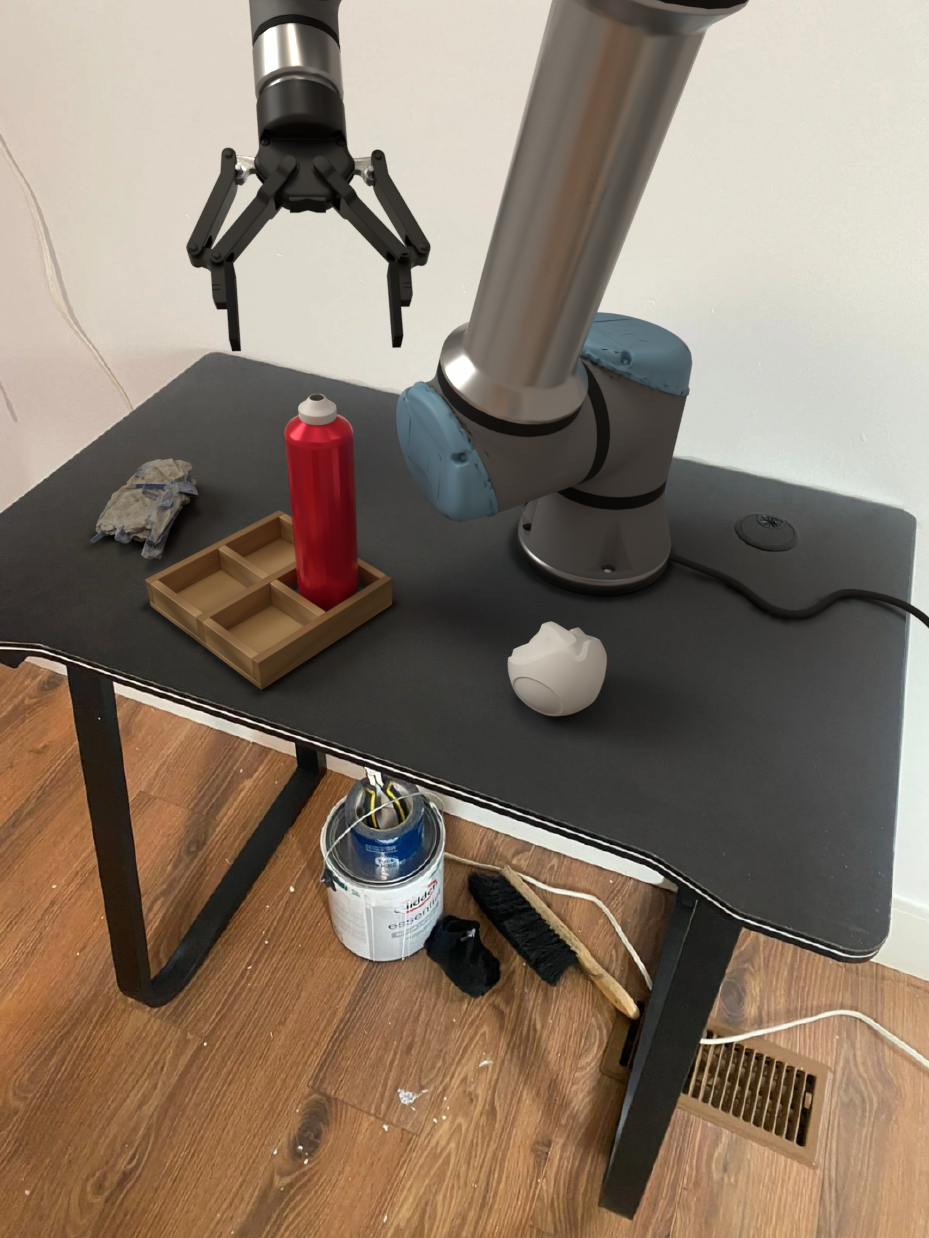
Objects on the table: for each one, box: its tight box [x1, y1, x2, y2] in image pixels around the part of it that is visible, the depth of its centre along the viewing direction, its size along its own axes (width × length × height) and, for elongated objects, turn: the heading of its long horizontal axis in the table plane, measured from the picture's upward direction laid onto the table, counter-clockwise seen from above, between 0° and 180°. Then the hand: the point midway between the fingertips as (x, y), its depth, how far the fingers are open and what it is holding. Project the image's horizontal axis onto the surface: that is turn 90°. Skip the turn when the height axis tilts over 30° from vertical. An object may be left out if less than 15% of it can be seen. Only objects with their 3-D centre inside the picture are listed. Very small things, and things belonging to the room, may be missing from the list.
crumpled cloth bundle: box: [90, 457, 199, 560], centre depth 91 cm, size 15×8×4 cm, turn 168°
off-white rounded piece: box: [507, 621, 608, 717], centre depth 74 cm, size 8×8×8 cm
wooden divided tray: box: [144, 510, 393, 691], centre depth 83 cm, size 15×15×3 cm
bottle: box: [283, 393, 359, 612], centre depth 77 cm, size 6×5×20 cm
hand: (317, 344), depth 78 cm, fingers open, 13 cm apart
